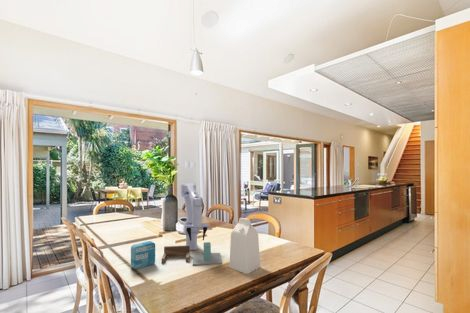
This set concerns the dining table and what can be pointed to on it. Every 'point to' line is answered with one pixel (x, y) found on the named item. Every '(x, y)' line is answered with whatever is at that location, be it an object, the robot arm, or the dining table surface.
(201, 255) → the board
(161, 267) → the dining table surface
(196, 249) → the robot arm
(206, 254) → the block
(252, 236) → the milk
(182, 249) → the bay
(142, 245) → the data package
